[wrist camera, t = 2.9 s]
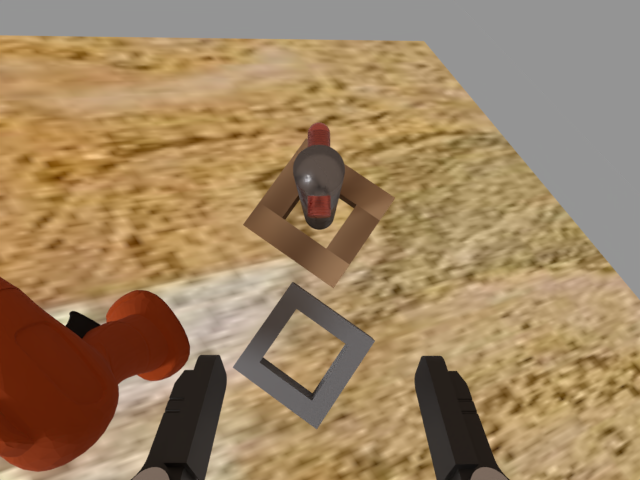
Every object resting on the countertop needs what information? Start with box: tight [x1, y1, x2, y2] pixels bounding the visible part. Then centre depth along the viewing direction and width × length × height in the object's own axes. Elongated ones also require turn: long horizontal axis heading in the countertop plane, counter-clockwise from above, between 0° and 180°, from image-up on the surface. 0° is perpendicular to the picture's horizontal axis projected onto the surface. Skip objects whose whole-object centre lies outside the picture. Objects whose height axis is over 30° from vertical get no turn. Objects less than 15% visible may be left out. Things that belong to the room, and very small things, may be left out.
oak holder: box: [243, 138, 395, 288], centre depth 27 cm, size 9×9×2 cm
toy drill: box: [0, 277, 190, 472], centre depth 19 cm, size 5×19×15 cm, turn 39°
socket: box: [233, 282, 375, 429], centre depth 26 cm, size 8×8×2 cm
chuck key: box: [293, 122, 345, 230], centre depth 22 cm, size 5×3×12 cm, turn 0°
